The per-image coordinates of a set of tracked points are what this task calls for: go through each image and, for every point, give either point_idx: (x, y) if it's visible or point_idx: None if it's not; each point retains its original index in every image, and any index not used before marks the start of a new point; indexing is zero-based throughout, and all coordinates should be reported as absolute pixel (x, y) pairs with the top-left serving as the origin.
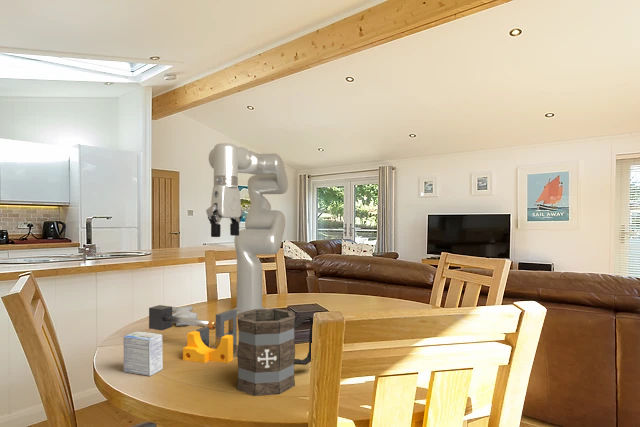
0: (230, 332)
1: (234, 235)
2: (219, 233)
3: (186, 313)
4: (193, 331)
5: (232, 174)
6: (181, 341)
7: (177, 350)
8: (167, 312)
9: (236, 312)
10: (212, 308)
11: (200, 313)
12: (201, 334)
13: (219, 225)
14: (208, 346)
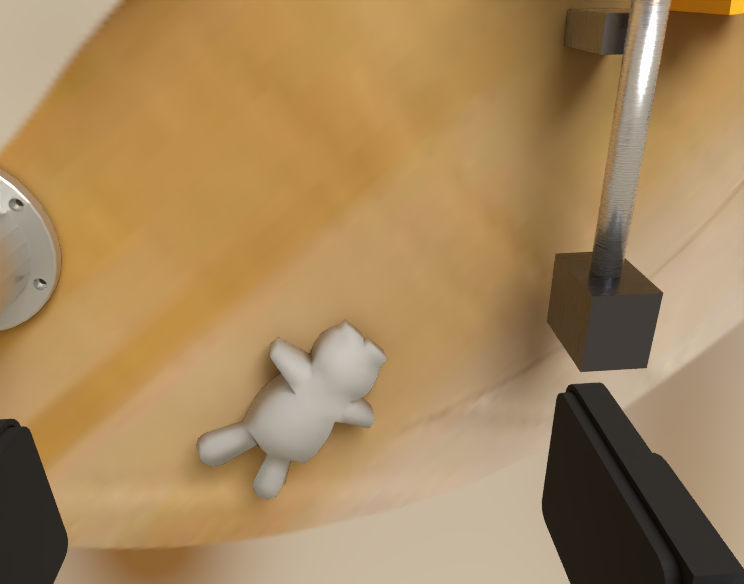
0: None
1: (38, 479)
2: (620, 415)
3: (328, 372)
4: (738, 7)
5: None
6: (531, 189)
7: None
8: (615, 284)
9: None
10: (43, 442)
11: (148, 423)
12: None
13: (710, 545)
14: (575, 9)
